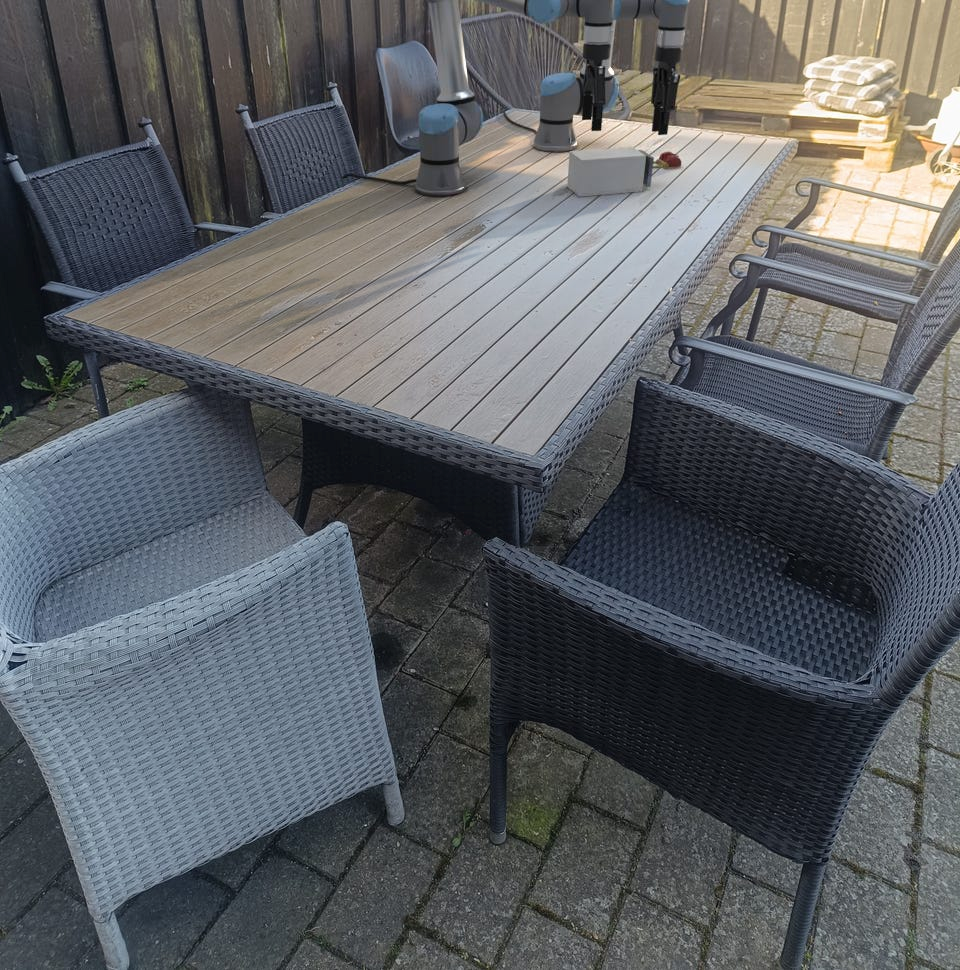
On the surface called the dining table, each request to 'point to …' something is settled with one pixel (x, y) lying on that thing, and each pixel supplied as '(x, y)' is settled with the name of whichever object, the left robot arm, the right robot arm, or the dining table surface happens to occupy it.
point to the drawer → (651, 168)
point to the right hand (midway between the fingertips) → (659, 132)
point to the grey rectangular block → (606, 171)
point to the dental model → (670, 159)
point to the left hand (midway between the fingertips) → (591, 125)
